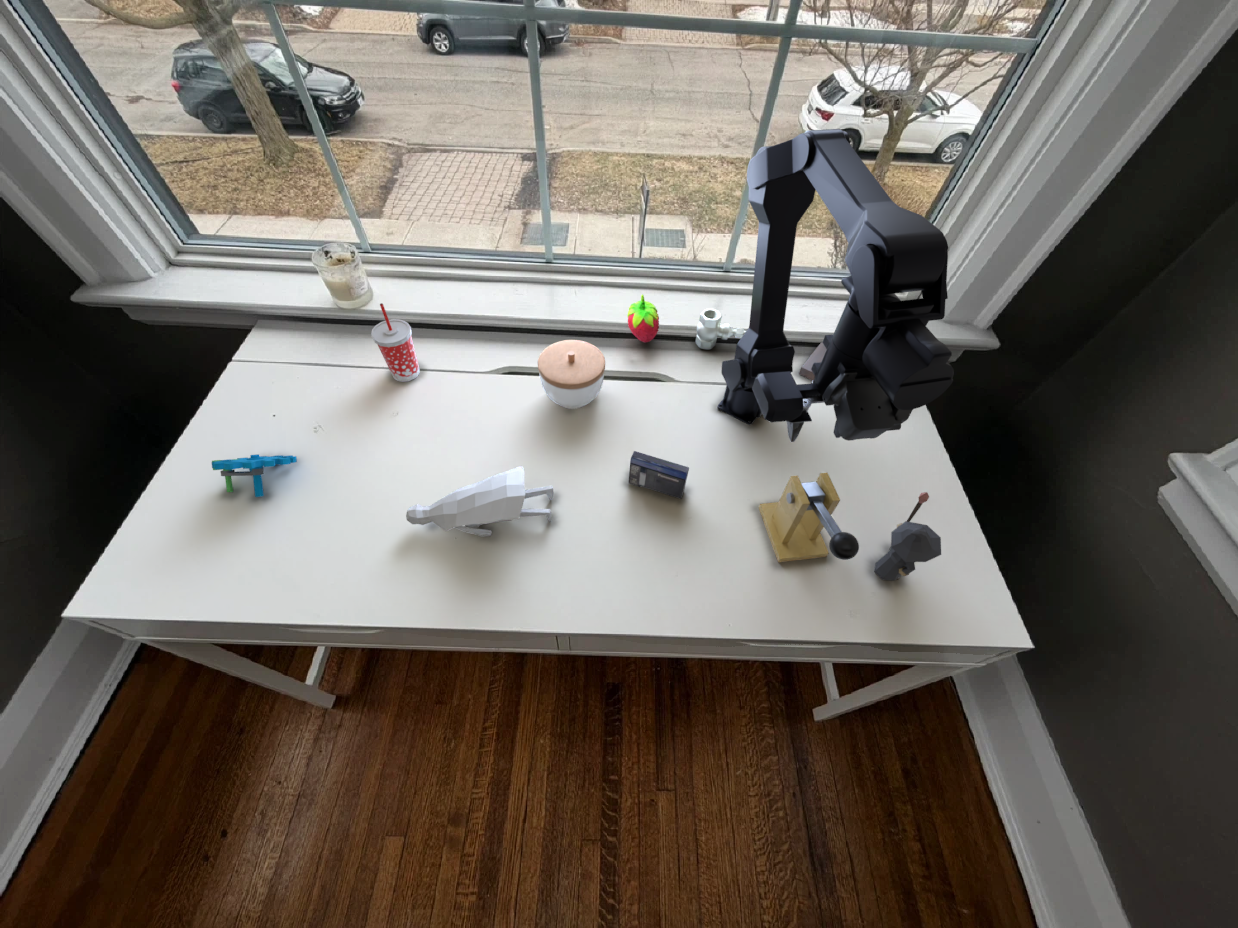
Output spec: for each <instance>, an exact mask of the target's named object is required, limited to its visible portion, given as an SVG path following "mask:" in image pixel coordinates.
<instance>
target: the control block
mask: <svg viewBox="0 0 1238 928" xmlns="http://www.w3.org/2000/svg"><path fill="white" fill-rule="evenodd" d="M826 350H827V349H826V348H825V346H824V344H823V341H821V342H820V344H819V345H817V347H816V348H815V349H814V350H813V352H812V353H811V354H810V356H809V357H808V358H807V359H806V360H805V362H804V363H803V364H802V365H801V367H800V369H799V372H798V375H800V376H802V377H804V378H806V379H809V380H811V381H812V380H814V378H815V376H814V374H813V372H812V370H811V368H812V366H813V364H814V363H819V362H822V360H823V357H824V355H825V353H826Z"/></svg>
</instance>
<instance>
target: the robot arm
mask: <svg viewBox="0 0 1238 928" xmlns="http://www.w3.org/2000/svg"><path fill="white" fill-rule="evenodd" d="M746 180H747V182H746V183H747V185H748V202H749V204H750V206H751V208H752V210H753V212H754V215H755V217H756V218H757V221H758V230H757V241H756V249H755V250H756V251H755V262H754V273H753V282H752V285H753V286H752V293H751V305H750V315H749V325H748V328H747V329H746V330H745V331H746V332H745V334H744V335H743V336H742V338H739V341H738V342H737V343H736V346H735V353H734V358H733V359H729V360H728V359H727V360H722V362H721V375H722V378H723V379H724V381H725V384H726V387H725V390H724V394H723V397H722V400H721V401H720V402H719V403H718V404H717V410H719V411H721V412H723V413H724V414H726V415H728V416H731V417H733V418H735V419H736V420H738V421H740V422H742V423H744V424H746V425H749V426H751V425H753V424H754V422H755V421H756V420H757V419H759V418H761V417H763V418H764V420H765V421H767V422H769V423H781V422H786V429H787V435H788V439H789V441H790V443H795V441H796V440H797V439H798V437H799V435H800V433H801V430H802V428H803V426H804V424H805V423H808V422H812V421H813V420H812V417H811V415H810V413H809V409H810V408H811V406H812V405H813V404H825V406H833V411H834V415H835V419H836V420H835V423H834V427H833V436H834V437H835V438H836V439H839V438H842V439H843V440H845V441H855V440H865V439H876V438H878V437H880V436H881V435H883V434H884V433H886V432H889V431H900V430H901V428H902V424H903V423H905V422H907V421H908V420H909V418H910V416H911V414H912V412H913V411H914V410H915V409H920V408H922V407H924V406H926V405H928V404H930V403H931V402H934V401H935V400H937V398H940V397H941V396H942V395H943V394H944V393H945V392H946V391H947V390H948V389H949V388H950V386H951V385H952V383H953V382H954V379H953V377H954V374H955V373H954V371H955V370H954V368H953V367H952V365H951V364H950V363H949V361H950V359H951V357H952V355H953V352H952V351H951V350H950V348H949V347H948V346H947V345H946V344H944V342H942V341H941V340H939V338H937V337H936V336H935V335H934V334H933V333H932V331H931V330H930V328H928V326H927V325H928V324H929V322H931V321H939V320H944V319H945V315H946V300H948V299H949V296H948V284H947V283H948V281H947V279H948V261H949V252H948V250H949V243H948V240H947V238H946V237H945V234H944V233H943V231H941V229H940V228H938V227H937V226H936V225H934V223H932V222H930V221H929V220H928V218H926V217H924V216H923V215H921V214H920V213H917V212H914V211H912V210H909V209H906V208H904V207H901V206H899V205H898V204H897V203H895V202H894V201H893V200H892V199H891V197H890V196H889V195H888V193H887V192H886V190H885V189H884V188H883V186H882V185H881V183H880V182H879V181H878V180H877V179H876V177H875V176H874V174H873V173H872V172H871V171H870V169H869V167H868V166H867V165H866V164H865V162H864V161H863V160H862V158H861V157H860V156H859V154H858V153H857V152H856V151H855V149H854V148H853V147H852V145H851V139H850V135H849V133H848V132H847V131H845V130H842V129H841V128H828V129H827V128H826V129H809V130H805V132H803V133H799V134H798V135H796V136H795V137H793V138H792V139H791V138H790V139H789V140H786V141H783V142H780V143H777V144H775V145H765V146H760V148H759V149H758V150H757V152H756V153H755V155H754V156H753V157H752V158H751V159H749V162H748V165H747V169H746ZM816 193H817V195H818V196H819V198H820V199H821V201H822V202H823V204H824V205H825V206H826V208H827V210H828V212H829V213H830V215H831V216H832V217H833V219H834V220H835V222H836V223H837V225H838V227H839V228H840V230H841V231H842V233H843V234H844V237H845V239H846V241H847V248H846V253H845V257H844V261H845V264H846V266H847V269H848V272H849V274H850V275H849V276H843V277H842V278H841V281H840V282H841V285H842V286H843V288H844V289H845V290H846V291H847V292H848V294H849V296H848V299H847V301H846V304H845V306H844V308H843V311H842V313H841V315H840V318H839V319H838V322H837V325H836V327H835V328H834V329H835V330H834V332H833V334H825V335H824V337H823V339H822V342H823V344H824V346H825V348H826V349H827V350H826V353H825V355H824V357H823V360H822V362H819V363H814V364H813V366H812V368H811V370H812V372H813V374H814V376H815V378H814V380H811V383H799V384H797V383H796V381H795V379H794V377H793V375H792V373H793V371H794V370H793V369H794V367H793V363H794V357H795V353H796V350H795V347H794V346H793V345H791V344H790V342H789V340H788V338H787V336H786V334H785V332H784V330H785V329H784V328H785V319H786V314H787V313H786V312H787V307H788V305H787V304H788V297H789V291H790V288H789V287H790V282H791V275H792V274H791V273H792V268H793V267H792V266H793V259H794V252H795V243H796V235H797V228H798V224H799V222H800V221H801V219H802V218H803V217H804V215H805V213H806V212H807V211H808V209H809V208H810V207H811V205H812V203H814V199H815V195H816ZM919 291H921V296H922V298H913V299H906V300H902V299H900V298H899V296H897V294H903V293H910V292H919Z"/></svg>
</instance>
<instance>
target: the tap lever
mask: <svg viewBox="0 0 1238 928" xmlns="http://www.w3.org/2000/svg"><path fill="white" fill-rule="evenodd" d="M801 484H802V486H803V488H804V491H805V493H806V495H807V498H808V500H809V502H810V504H809V506H808V508H807V510H806V511H808V510H813V511H814V512H815V514H816V515H817V517H818V518H819V520H820V521H821V523H822V525H823V526H824V527H823V529H825V531H826V533H827V534H828V535H829V536H830V539H829V542H828V548H829V551H830V553H831V554H832V555H833V556H834V557H835V558H836V559H838V560H842V561H849V560H851V559H853V558H855V557H856V556H857V554H858V553H859V550H860V545H859V541H858V539H857V538H856V537H855V536H854V534H851V533H850V532H847V531H842V530H841V528H840V527H839V525H838V523H837V522H836V521H835V519H834V518H833V517H832V515H830V513H829V512H828V510H827V509H826V507H825V506H824V504H823V502H824V499H825V494H824V492H823V491H822V489H821V488H820V486H819V485H818V484H817V482H816V481H808V482H801Z"/></svg>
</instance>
